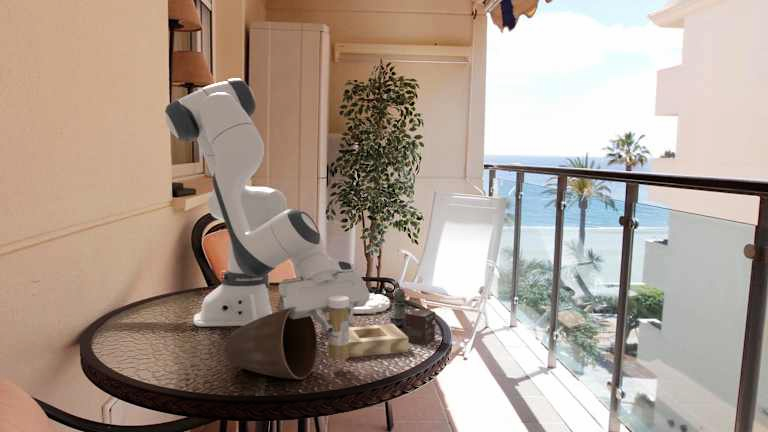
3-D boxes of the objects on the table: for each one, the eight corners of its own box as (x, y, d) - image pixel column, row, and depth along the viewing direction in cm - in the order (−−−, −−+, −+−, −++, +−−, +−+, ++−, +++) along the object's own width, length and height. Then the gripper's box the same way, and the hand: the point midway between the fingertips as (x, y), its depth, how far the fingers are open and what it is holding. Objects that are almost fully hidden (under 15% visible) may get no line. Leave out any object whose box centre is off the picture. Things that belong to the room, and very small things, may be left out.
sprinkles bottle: (324, 357, 113) (323, 297, 111) (338, 352, 116) (338, 293, 115) (338, 362, 110) (338, 301, 108) (353, 357, 113) (353, 297, 112)
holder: (343, 357, 120) (343, 343, 120) (333, 341, 131) (333, 328, 131) (408, 351, 125) (408, 337, 124) (393, 336, 136) (393, 323, 136)
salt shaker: (407, 332, 140) (408, 288, 139) (386, 330, 142) (387, 287, 141) (410, 326, 146) (411, 284, 145) (390, 324, 147) (391, 283, 146)
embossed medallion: (316, 306, 168) (316, 298, 168) (363, 297, 181) (363, 289, 181) (353, 319, 153) (353, 310, 153) (402, 308, 166) (402, 300, 166)
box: (424, 345, 130) (425, 316, 129) (403, 341, 133) (404, 313, 132) (435, 338, 135) (435, 311, 134) (415, 335, 138) (415, 308, 138)
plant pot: (209, 379, 103) (280, 374, 98) (218, 306, 109) (285, 298, 104) (251, 386, 116) (315, 383, 111) (257, 321, 122) (318, 314, 117)
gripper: (280, 272, 110) (302, 328, 103) (358, 262, 123) (383, 311, 116) (271, 289, 114) (292, 343, 107) (348, 277, 127) (371, 326, 120)
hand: (340, 327), depth 112 cm, fingers closed on sprinkles bottle, 4 cm apart
